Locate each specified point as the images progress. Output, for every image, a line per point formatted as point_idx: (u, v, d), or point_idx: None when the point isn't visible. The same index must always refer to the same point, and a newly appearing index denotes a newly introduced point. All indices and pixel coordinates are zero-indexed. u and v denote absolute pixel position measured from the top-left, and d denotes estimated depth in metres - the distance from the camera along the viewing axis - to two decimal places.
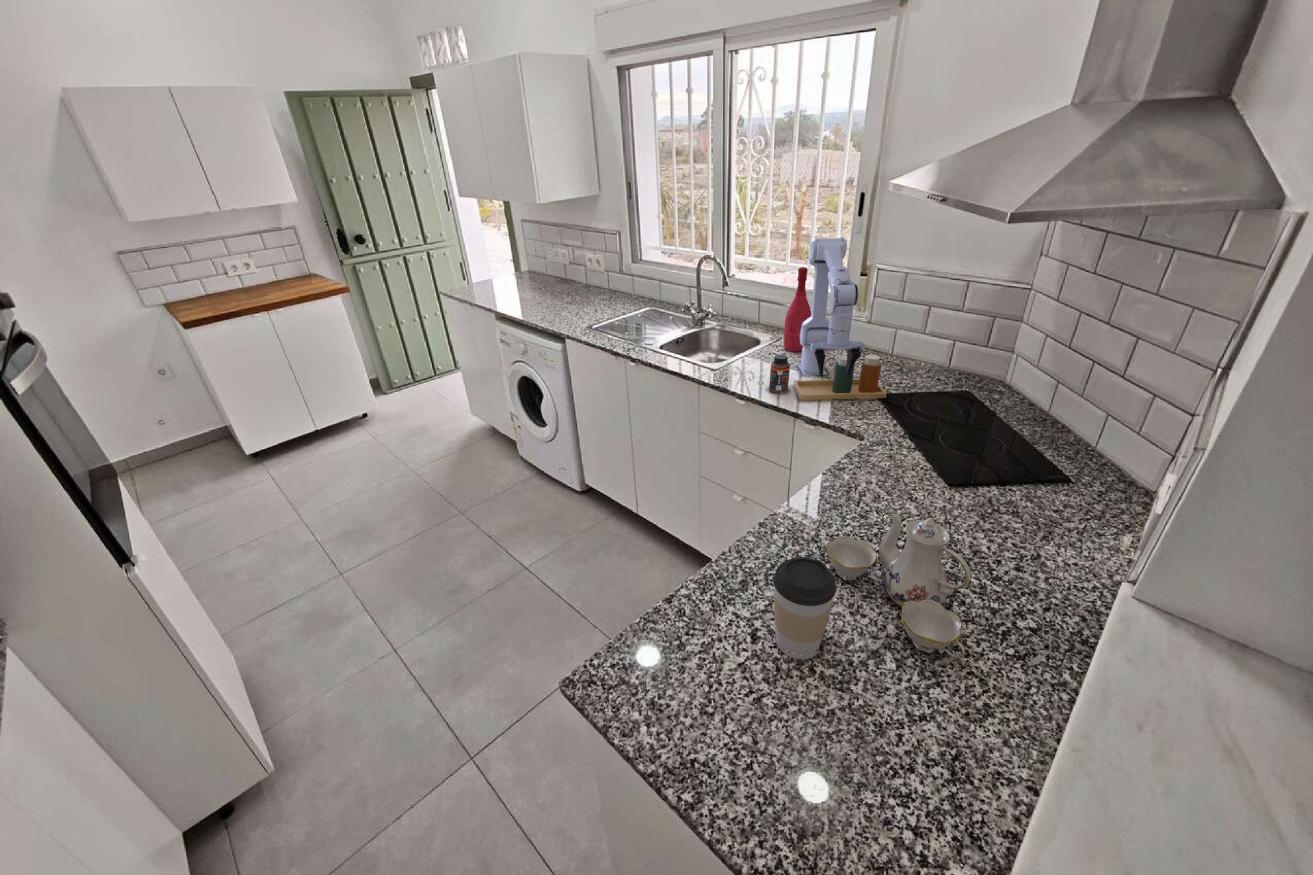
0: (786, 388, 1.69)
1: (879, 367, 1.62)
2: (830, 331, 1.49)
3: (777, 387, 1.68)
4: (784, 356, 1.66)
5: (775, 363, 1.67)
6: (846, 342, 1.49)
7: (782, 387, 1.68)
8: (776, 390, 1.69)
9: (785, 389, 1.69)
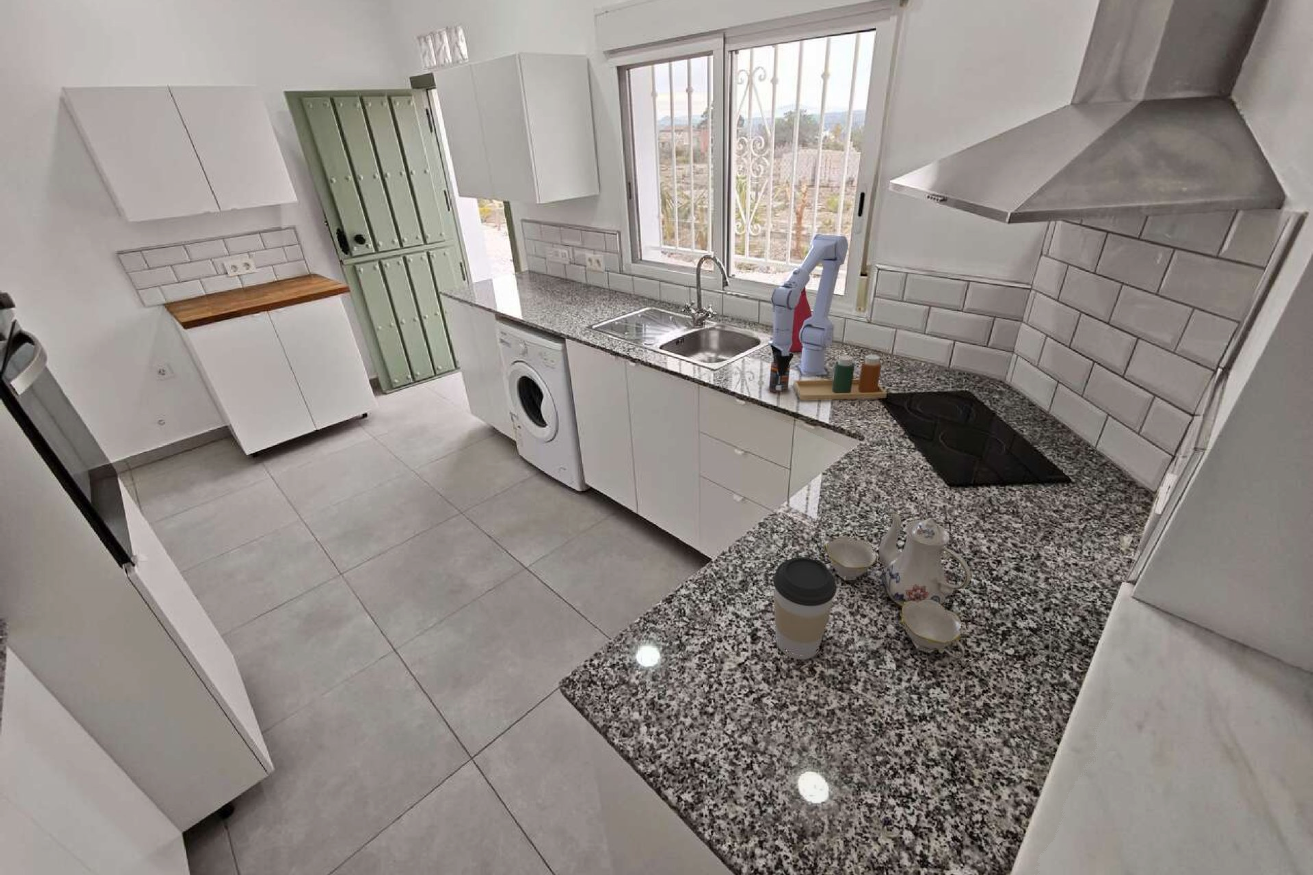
0: (786, 388, 1.69)
1: (879, 367, 1.62)
2: None
3: (777, 387, 1.68)
4: None
5: (775, 363, 1.67)
6: (775, 340, 1.62)
7: (782, 387, 1.68)
8: (776, 390, 1.69)
9: (785, 389, 1.69)
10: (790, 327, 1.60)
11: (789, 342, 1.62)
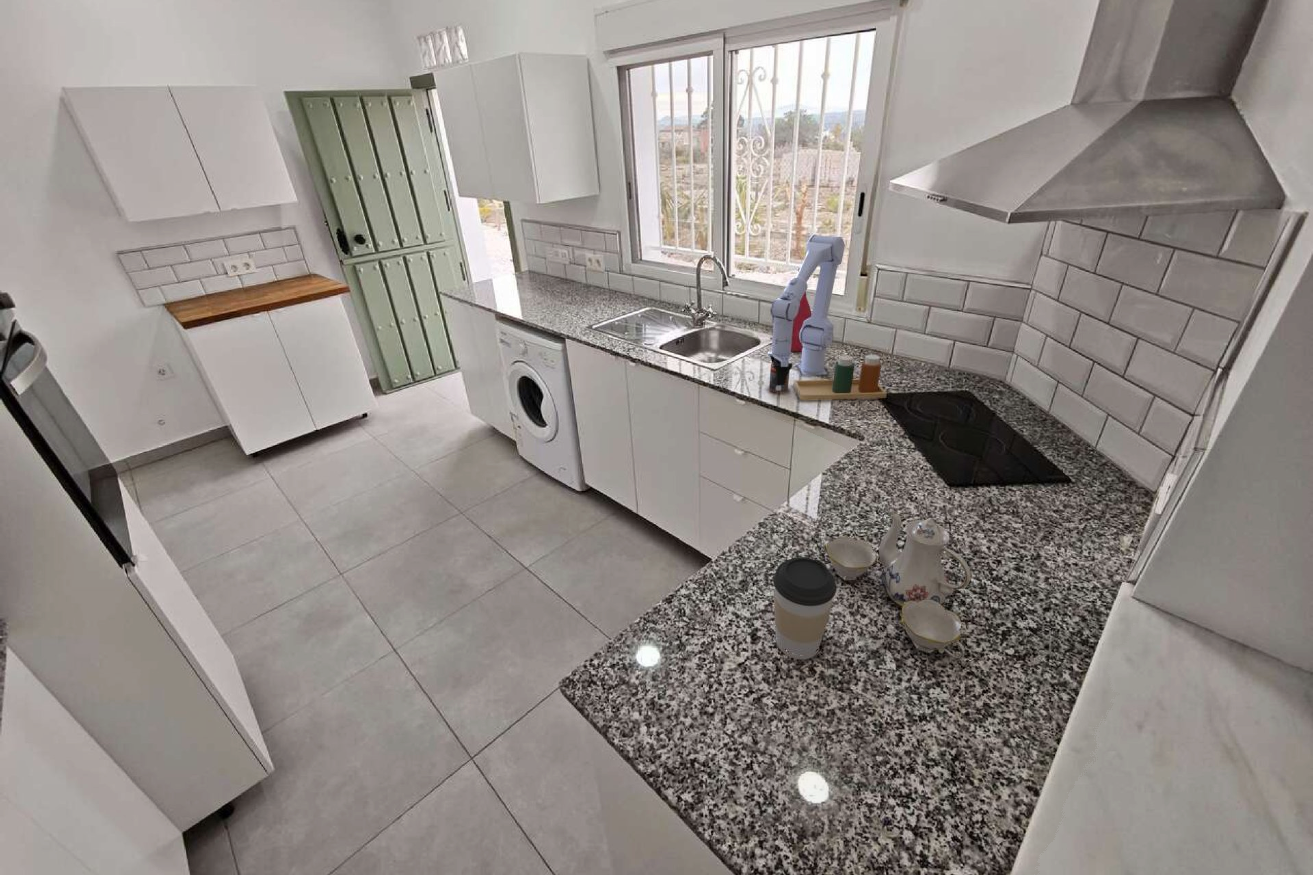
0: (786, 388, 1.69)
1: (879, 367, 1.62)
2: None
3: (777, 387, 1.68)
4: None
5: None
6: (774, 351, 1.64)
7: (781, 387, 1.68)
8: (776, 390, 1.69)
9: (785, 389, 1.69)
10: (789, 338, 1.61)
11: (788, 353, 1.64)
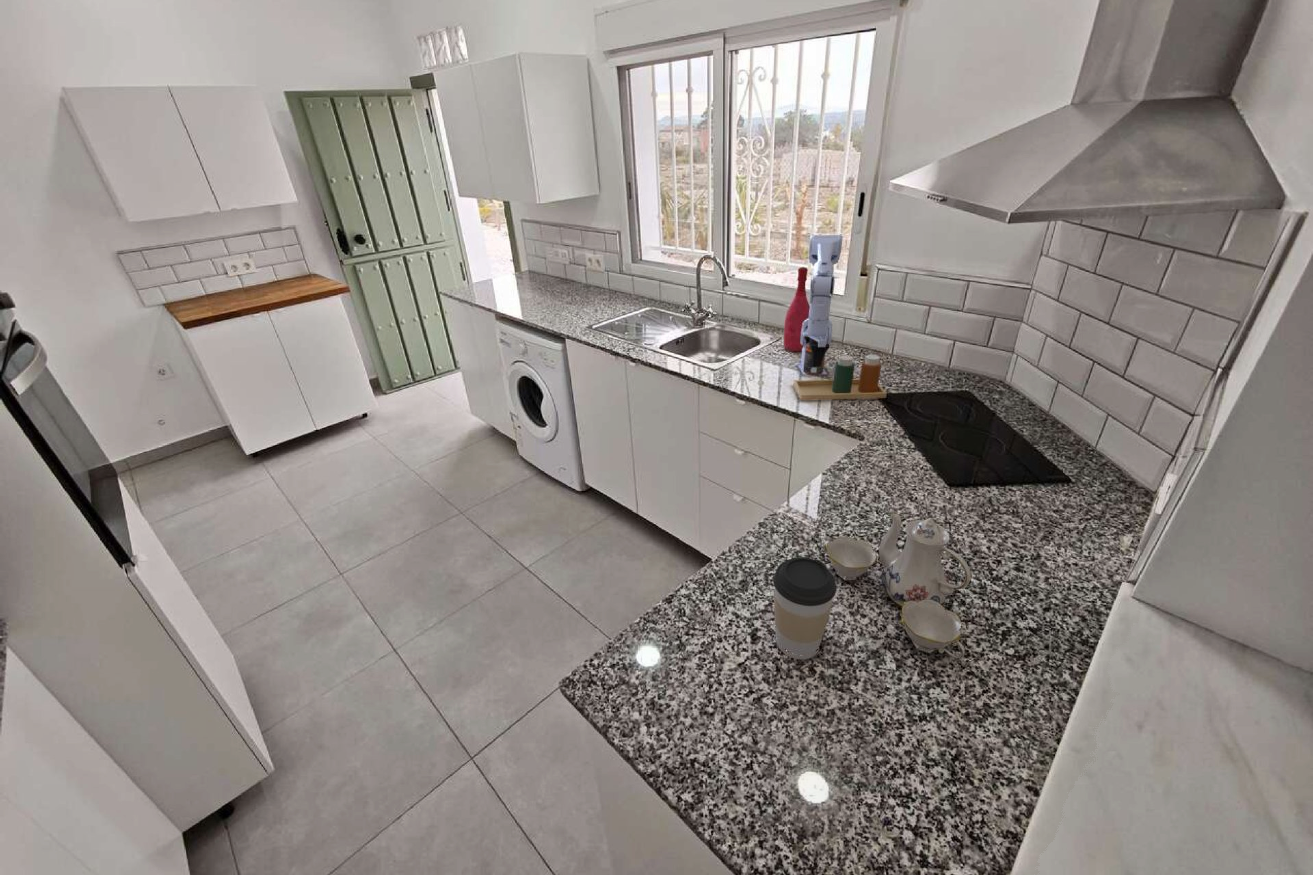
0: (821, 370, 1.63)
1: (879, 367, 1.62)
2: None
3: (812, 369, 1.62)
4: None
5: None
6: (810, 331, 1.58)
7: (817, 369, 1.62)
8: (811, 372, 1.63)
9: (820, 371, 1.63)
10: (828, 316, 1.56)
11: (825, 333, 1.58)
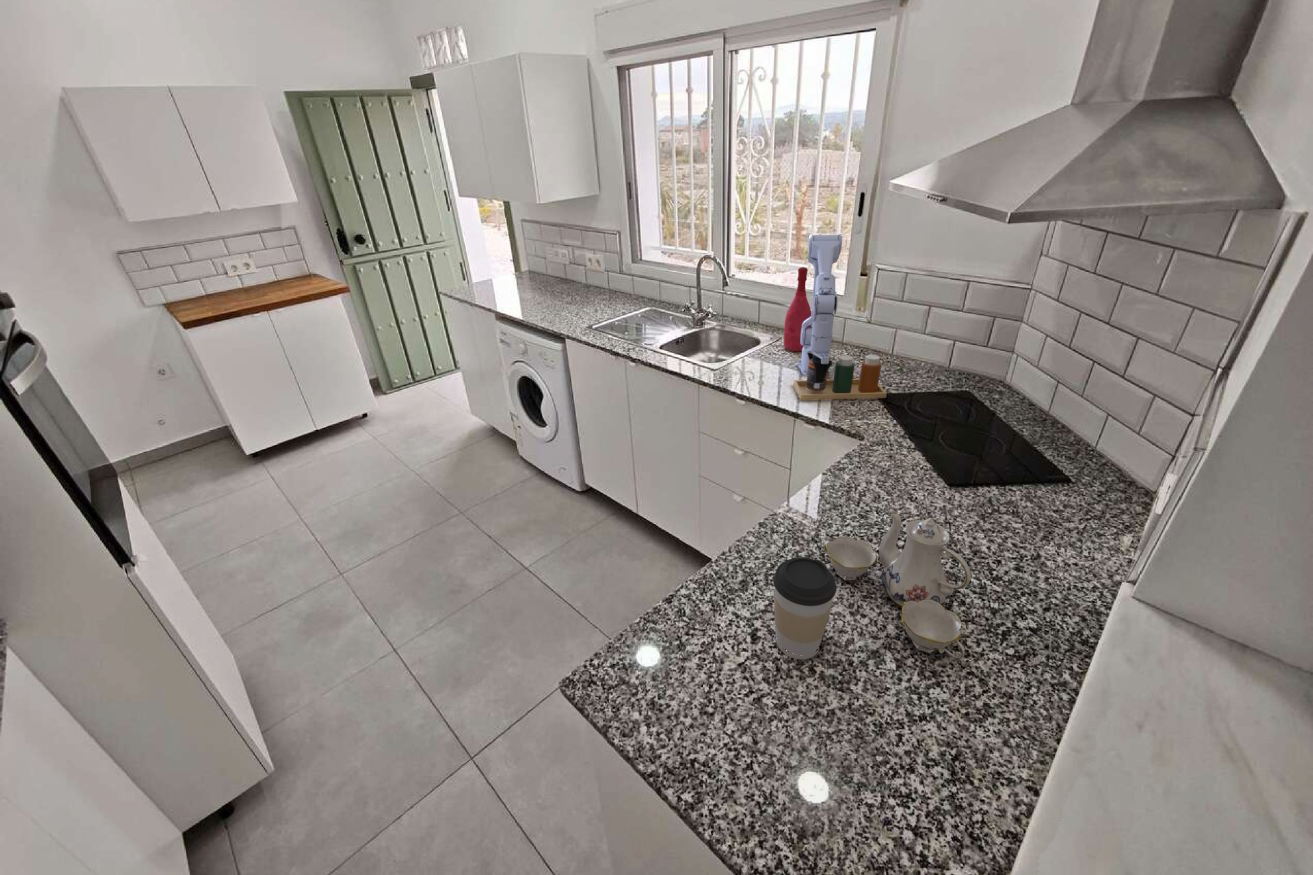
0: (824, 386, 1.65)
1: (879, 367, 1.62)
2: None
3: (815, 385, 1.64)
4: None
5: None
6: (813, 347, 1.60)
7: (820, 385, 1.64)
8: (814, 388, 1.65)
9: (823, 387, 1.65)
10: (831, 333, 1.59)
11: (828, 350, 1.60)
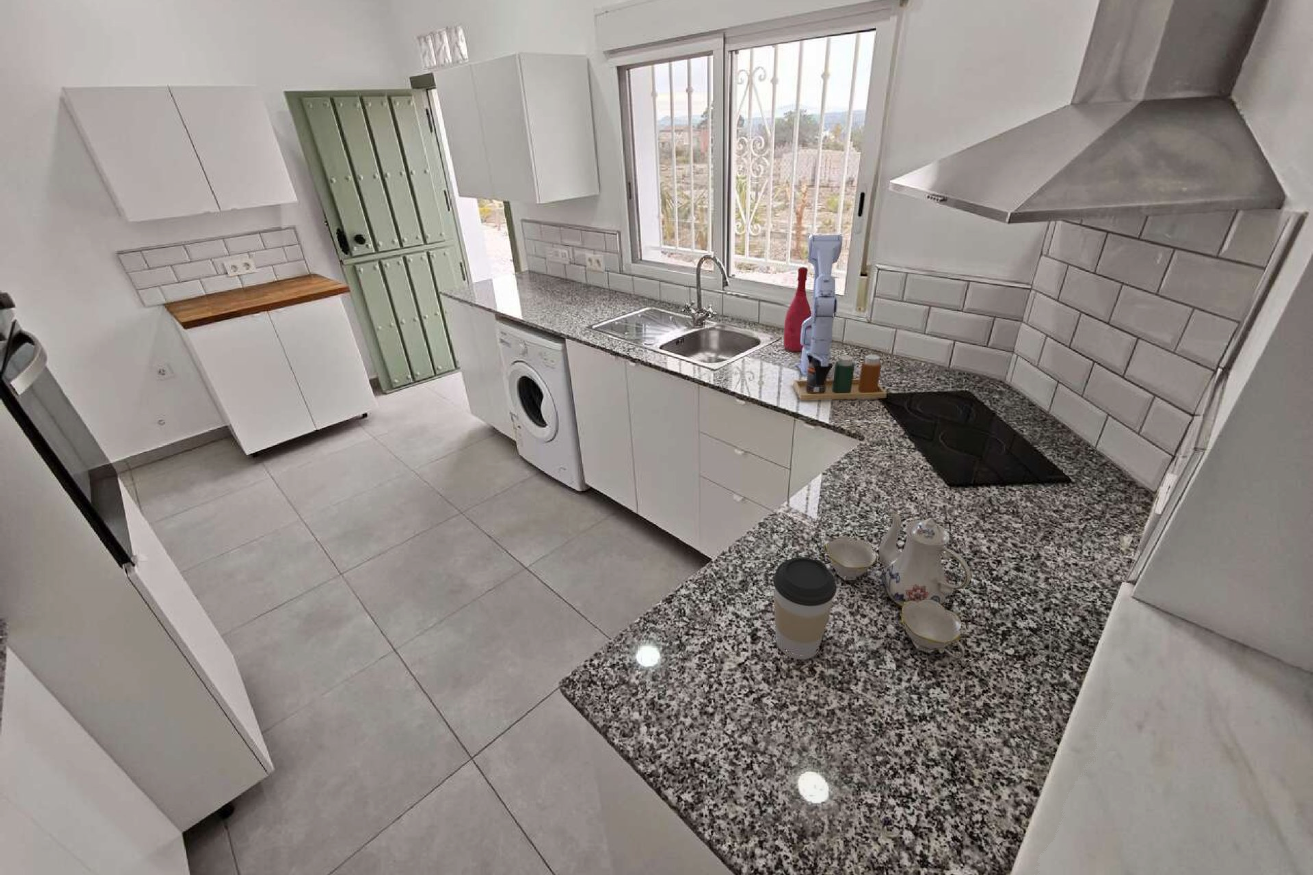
0: (824, 390, 1.66)
1: (879, 367, 1.62)
2: None
3: (815, 389, 1.65)
4: None
5: None
6: (813, 350, 1.60)
7: (819, 389, 1.65)
8: (814, 392, 1.66)
9: (823, 391, 1.66)
10: (831, 336, 1.59)
11: (828, 352, 1.60)
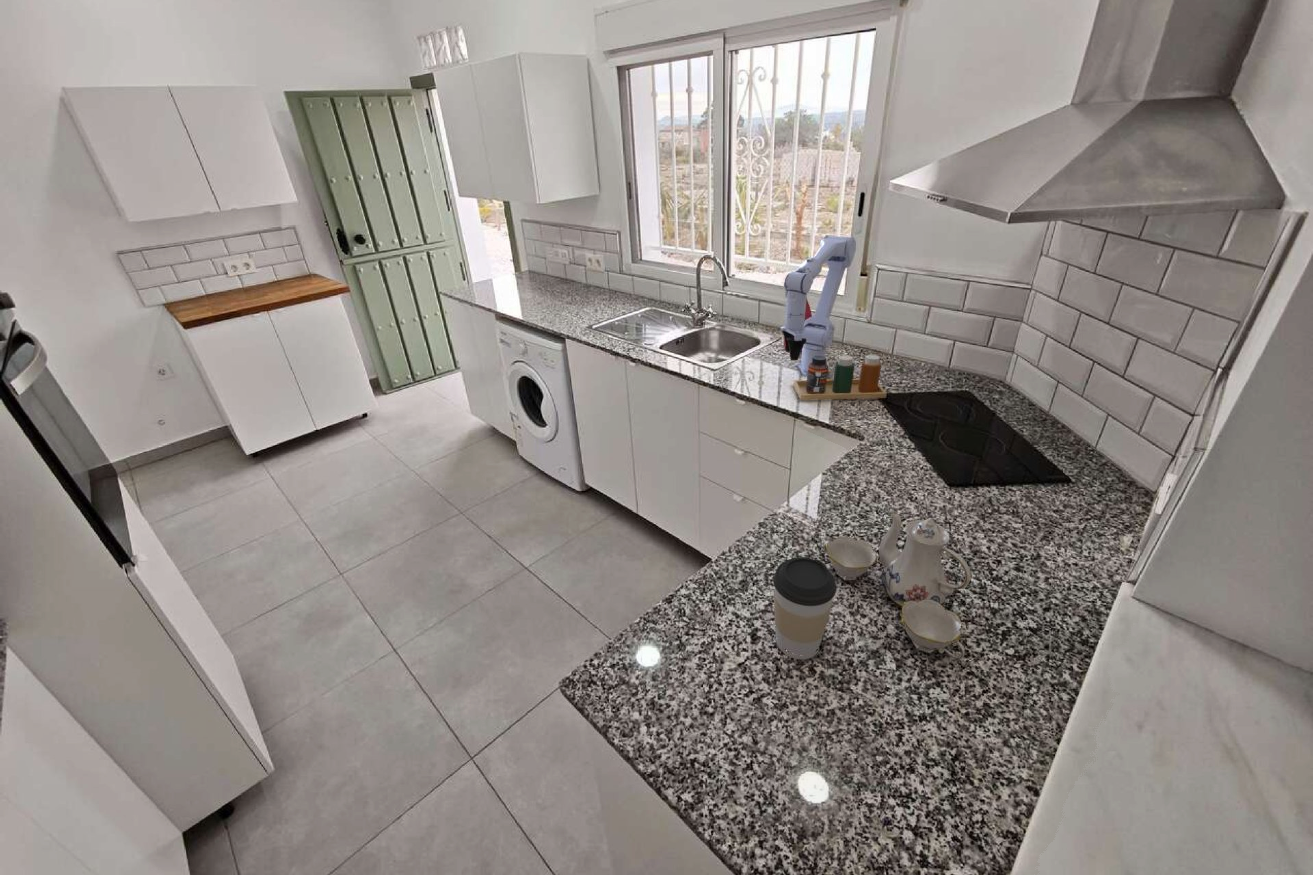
0: (824, 390, 1.66)
1: (879, 367, 1.62)
2: None
3: (815, 389, 1.65)
4: (822, 357, 1.63)
5: (813, 364, 1.63)
6: (787, 325, 1.63)
7: (819, 389, 1.65)
8: (814, 392, 1.66)
9: (823, 391, 1.66)
10: (803, 312, 1.61)
11: (801, 327, 1.63)
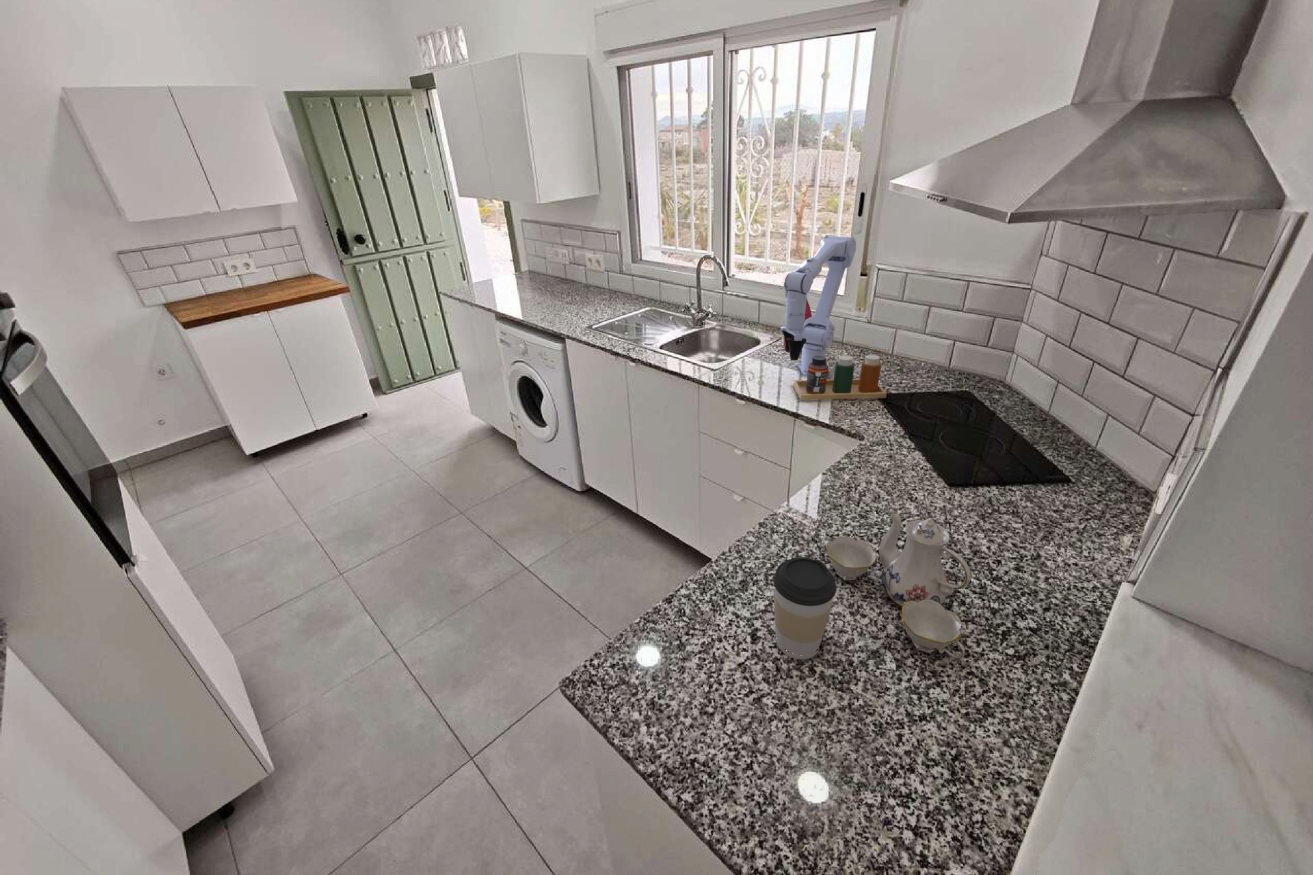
0: (824, 390, 1.66)
1: (879, 367, 1.62)
2: None
3: (815, 389, 1.65)
4: (822, 357, 1.63)
5: (813, 364, 1.63)
6: (787, 325, 1.63)
7: (819, 389, 1.65)
8: (814, 392, 1.66)
9: (823, 391, 1.66)
10: (803, 312, 1.61)
11: (801, 327, 1.63)
